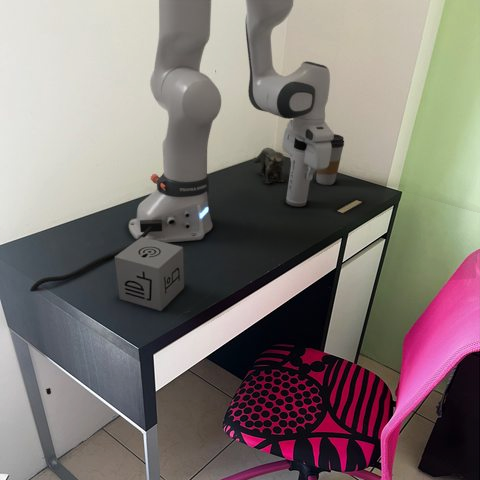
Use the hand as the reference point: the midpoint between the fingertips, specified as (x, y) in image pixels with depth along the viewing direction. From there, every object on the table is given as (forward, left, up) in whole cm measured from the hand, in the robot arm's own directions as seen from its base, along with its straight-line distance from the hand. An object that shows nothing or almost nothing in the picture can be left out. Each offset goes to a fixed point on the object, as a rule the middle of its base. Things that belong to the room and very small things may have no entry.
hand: (301, 175), depth 143 cm
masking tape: (+14, -8, -9) cm, 18 cm away
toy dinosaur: (+2, +22, -9) cm, 24 cm away
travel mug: (-1, 0, -9) cm, 9 cm away
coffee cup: (+19, +13, -9) cm, 25 cm away
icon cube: (-57, -32, -9) cm, 66 cm away
